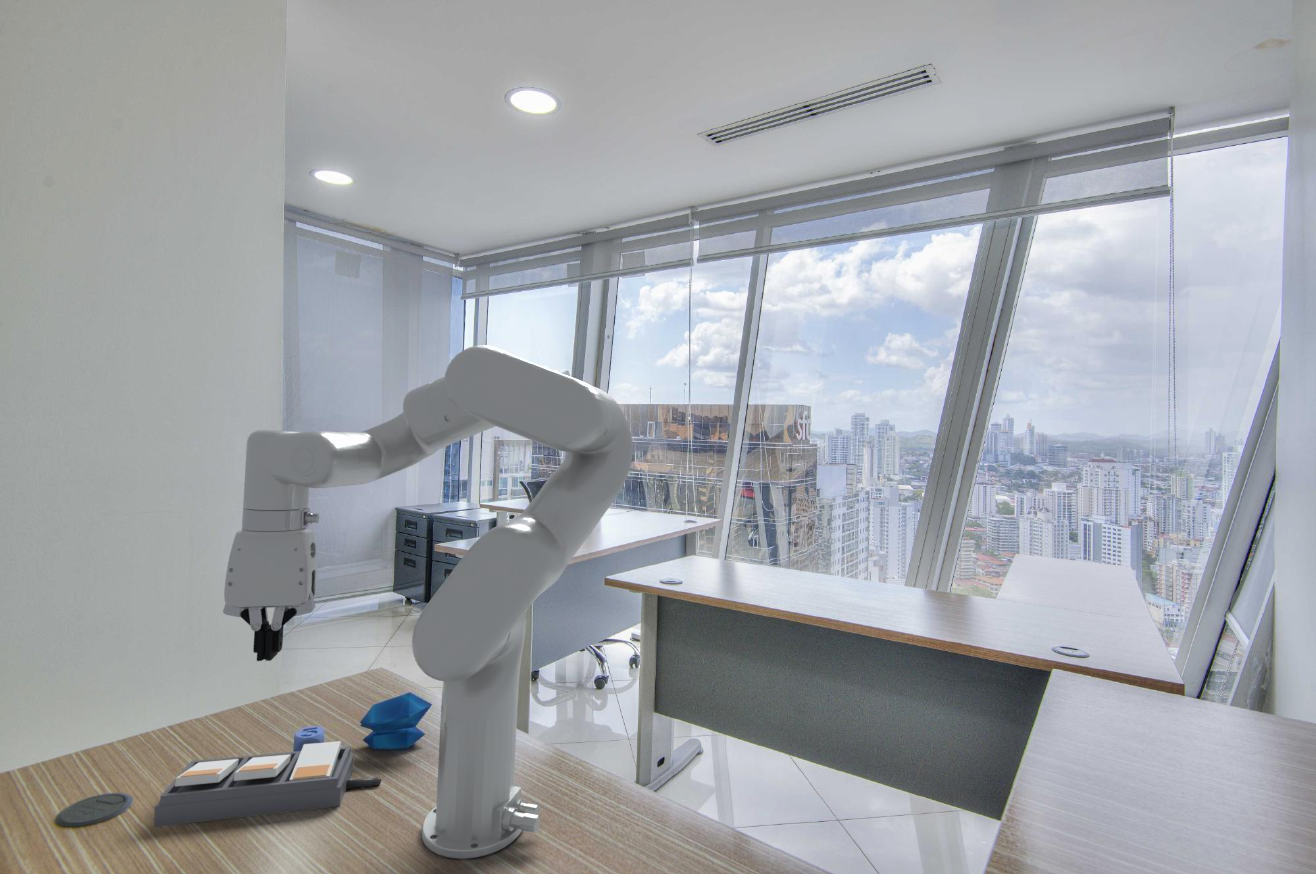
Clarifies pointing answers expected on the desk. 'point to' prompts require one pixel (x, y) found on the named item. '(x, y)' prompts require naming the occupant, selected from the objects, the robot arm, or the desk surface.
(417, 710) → the crystal
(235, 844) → the desk surface
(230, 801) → the strip
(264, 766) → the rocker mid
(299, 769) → the rocker
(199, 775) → the rocker
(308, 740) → the decorative dice
